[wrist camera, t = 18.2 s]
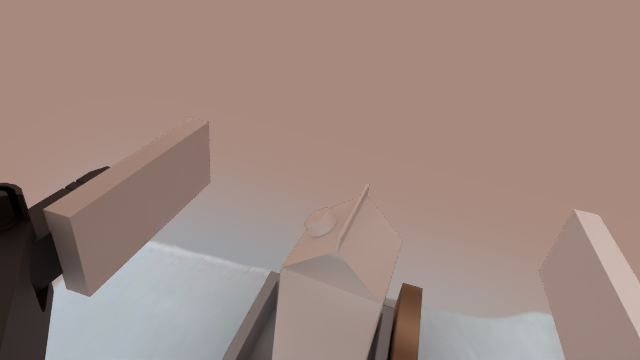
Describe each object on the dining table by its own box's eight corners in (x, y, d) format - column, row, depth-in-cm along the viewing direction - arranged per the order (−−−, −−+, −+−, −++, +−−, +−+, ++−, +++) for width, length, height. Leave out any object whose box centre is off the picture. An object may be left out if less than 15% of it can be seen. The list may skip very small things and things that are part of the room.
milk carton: (366, 358, 38) (415, 197, 28) (345, 429, 32) (397, 257, 22) (299, 331, 40) (324, 169, 30) (267, 394, 34) (284, 219, 24)
